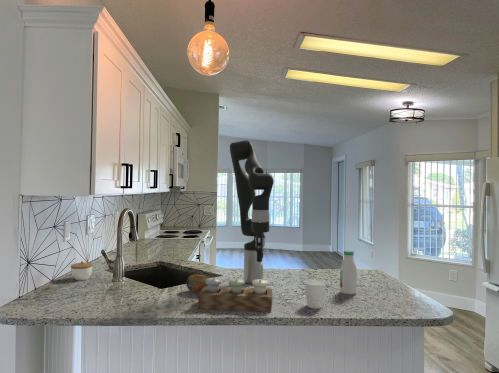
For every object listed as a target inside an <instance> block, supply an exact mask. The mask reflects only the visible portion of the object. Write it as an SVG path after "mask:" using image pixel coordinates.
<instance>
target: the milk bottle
mask: <svg viewBox="0 0 499 373" xmlns="http://www.w3.org/2000/svg"><path fill="white" fill-rule="evenodd" d="M354 254H355V253H354V251H353V250H349V249H348V250H343V260H342V262H341V264H340V270H339V271H340V272H339V292H340V293H341V294H344V295H350V296H351V295H352V296H353V295H356V294H357V289H358V286H357V285H358V284H357V283H358V282H357V281H358V279H357V277H358V275H357V274H358V272H357V270H358V268H357V265H356V263H355V260H354Z"/></svg>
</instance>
